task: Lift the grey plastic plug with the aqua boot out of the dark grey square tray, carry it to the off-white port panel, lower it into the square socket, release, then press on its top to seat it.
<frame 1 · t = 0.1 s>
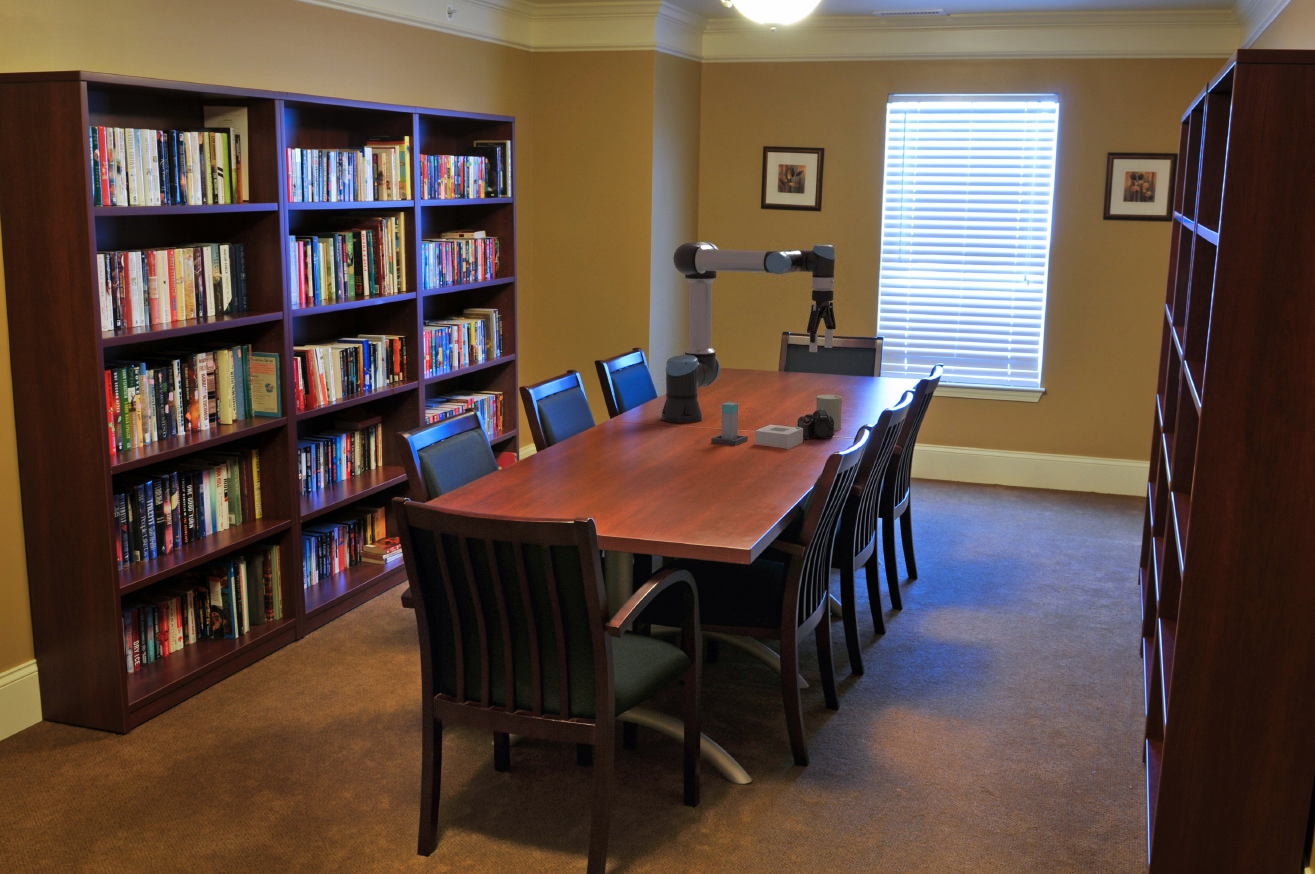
hand: (820, 349, 391), 28 cm above the table, fingers open, 13 cm apart
camera: (817, 438, 379), on the table
can: (828, 428, 395), on the table
port panel: (778, 444, 369), on the table
plug: (729, 441, 371), resting on dark grey square tray
dark grey square tray: (729, 442, 371), on the table
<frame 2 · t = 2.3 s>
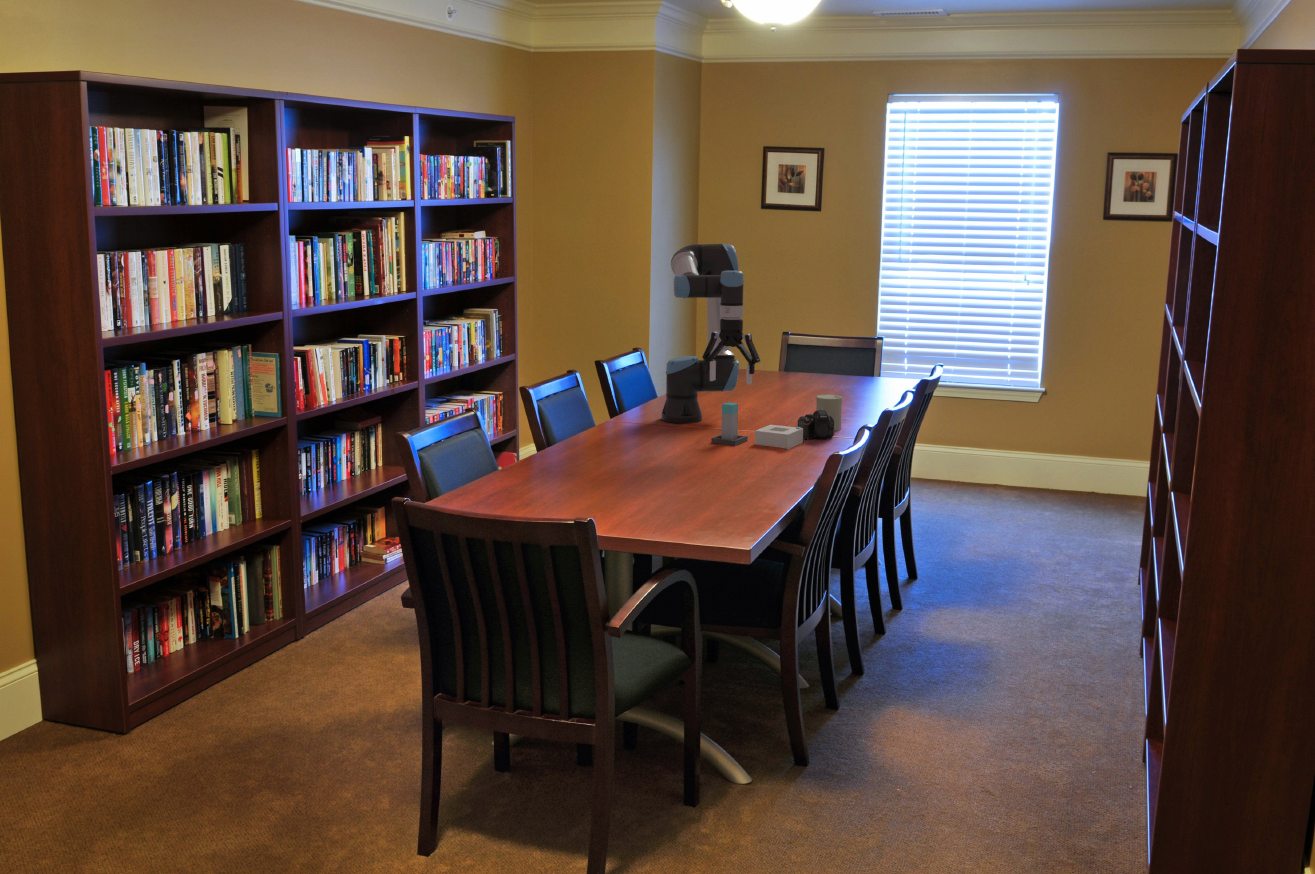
hand: (730, 382, 367), 21 cm above the table, fingers open, 13 cm apart
nothing on the table moved.
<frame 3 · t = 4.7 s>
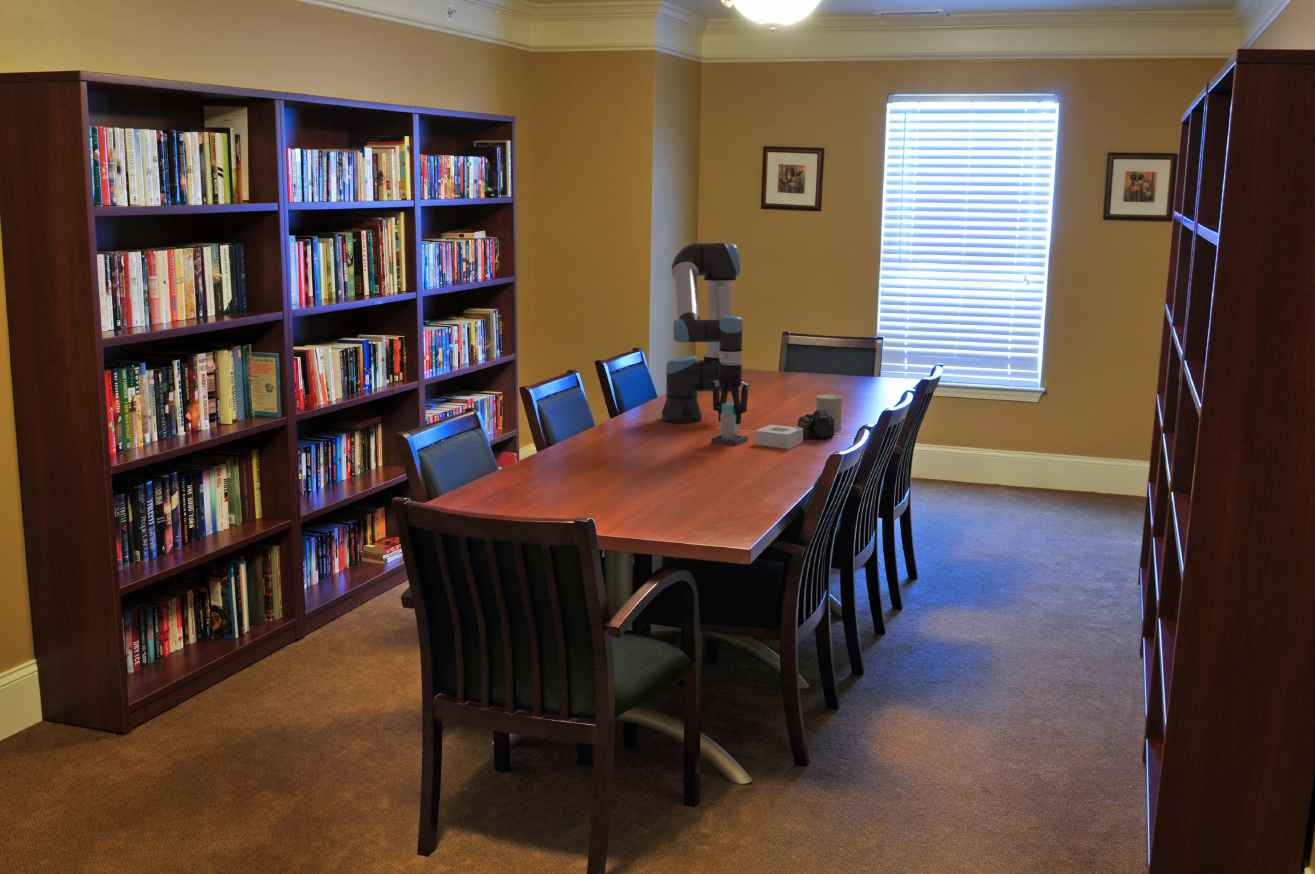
hand: (729, 432, 370), 4 cm above the table, fingers closed on plug, 4 cm apart
plug: (729, 441, 371), resting on dark grey square tray, touching gripper
everything else where it was.
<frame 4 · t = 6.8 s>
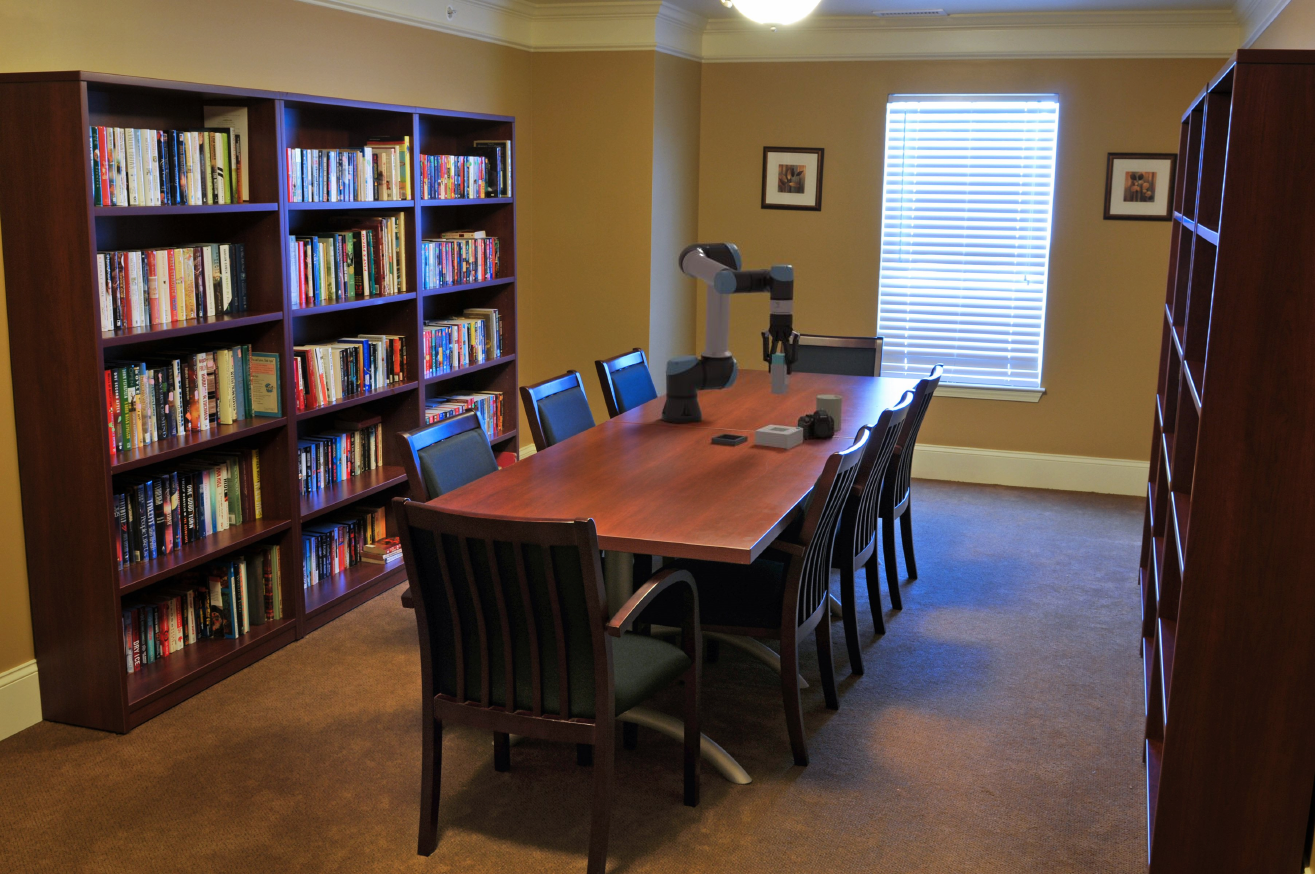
hand: (779, 383, 365), 21 cm above the table, fingers closed on plug, 4 cm apart
plug: (779, 393, 366), point 17 cm above the table, touching gripper
everything else where it was.
when the fingers open (5 cm above the table, at t = 8.9 s): plug drops 1 cm, resting on port panel.
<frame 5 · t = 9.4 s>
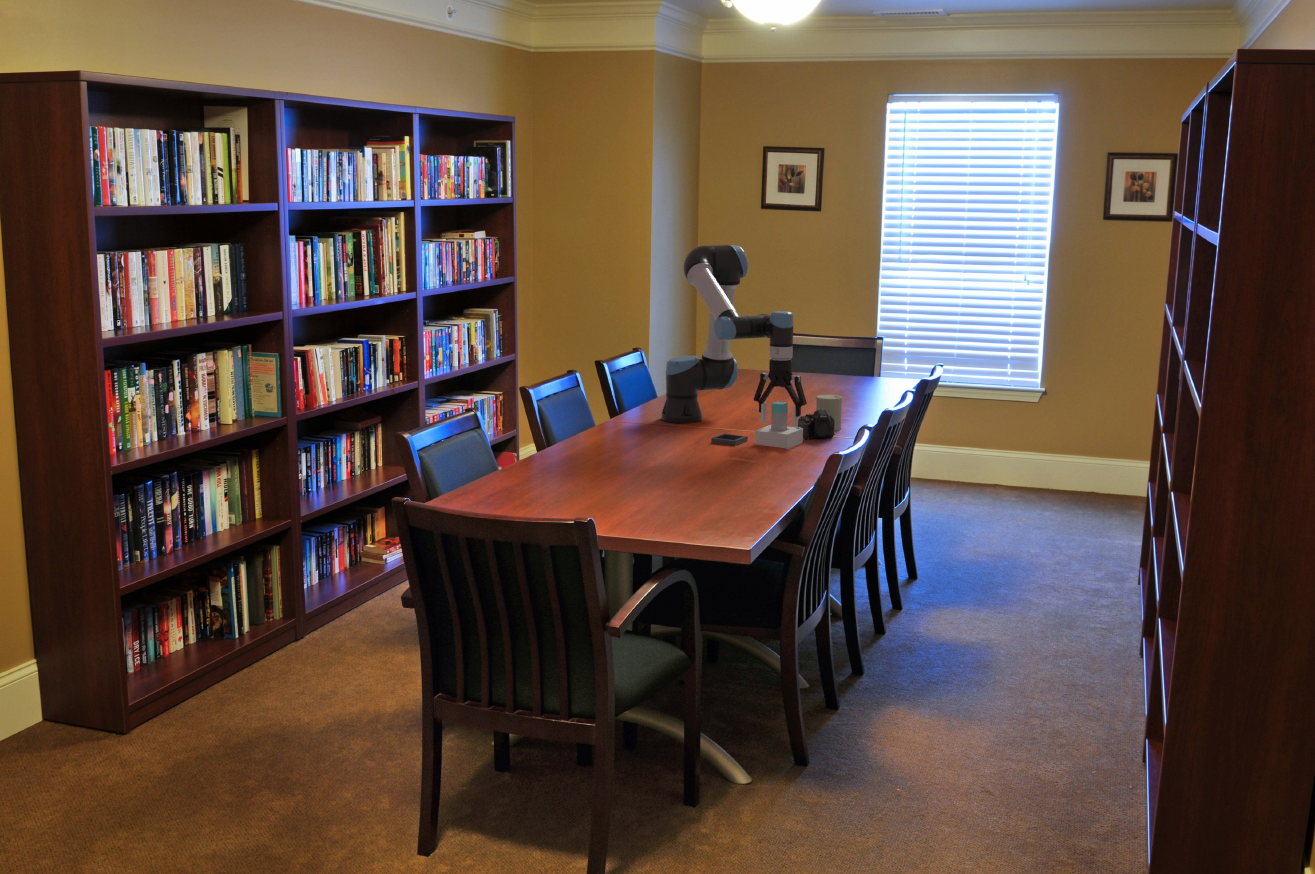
hand: (779, 424, 368), 7 cm above the table, fingers open, 11 cm apart
plug: (778, 441, 369), point 1 cm above the table, touching port panel
everything else where it was.
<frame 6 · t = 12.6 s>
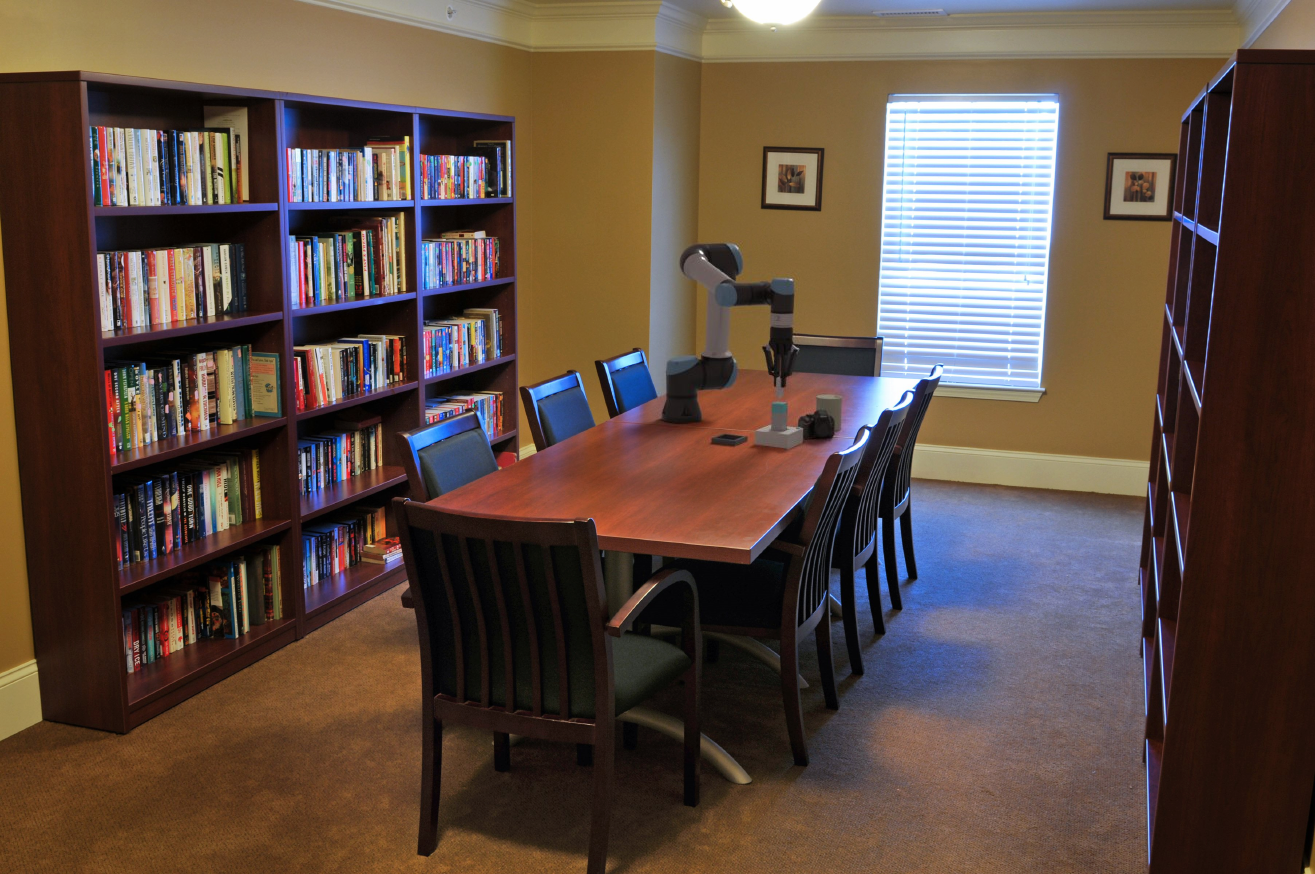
hand: (779, 396, 366), 16 cm above the table, fingers closed
nothing on the table moved.
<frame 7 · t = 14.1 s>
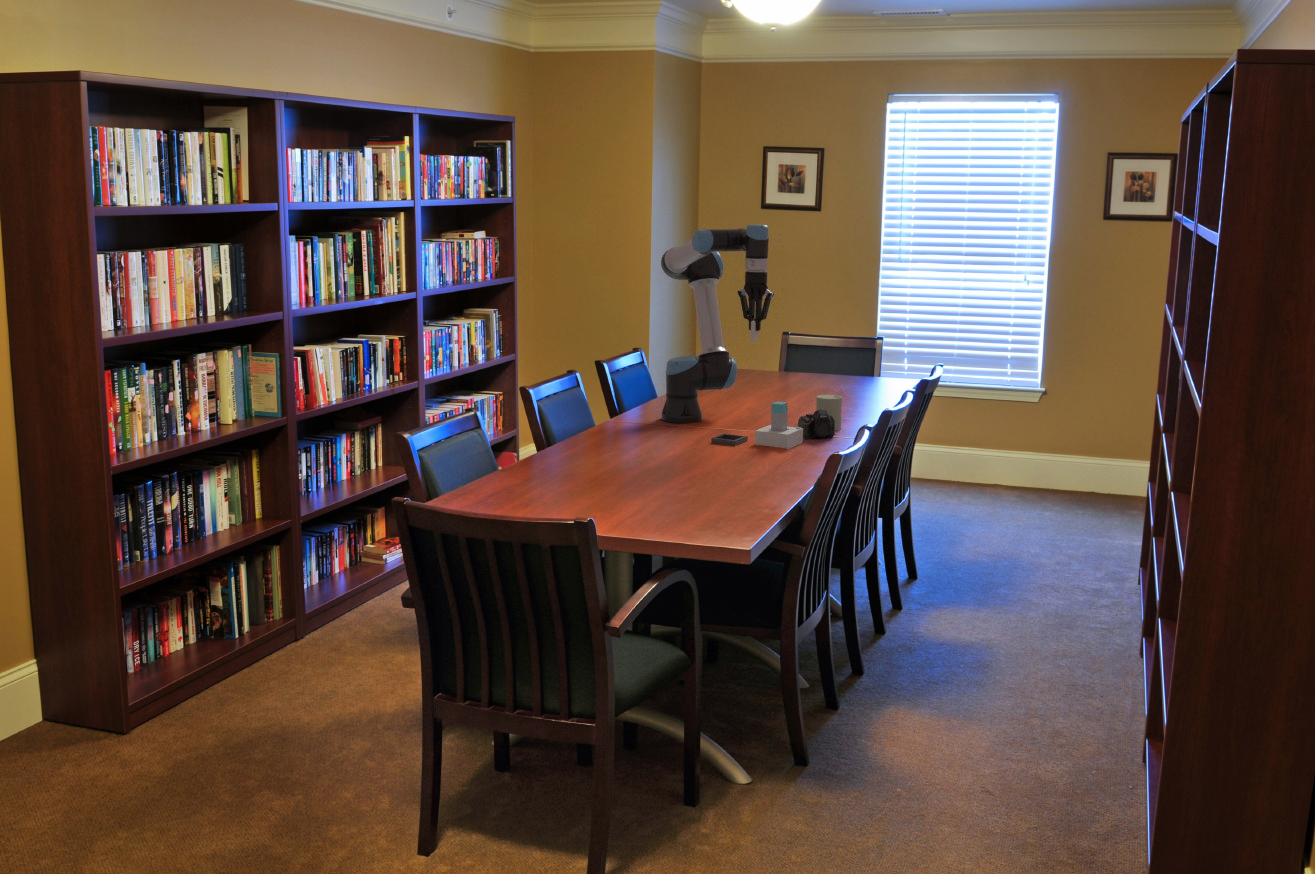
hand: (754, 339, 379), 33 cm above the table, fingers closed
nothing on the table moved.
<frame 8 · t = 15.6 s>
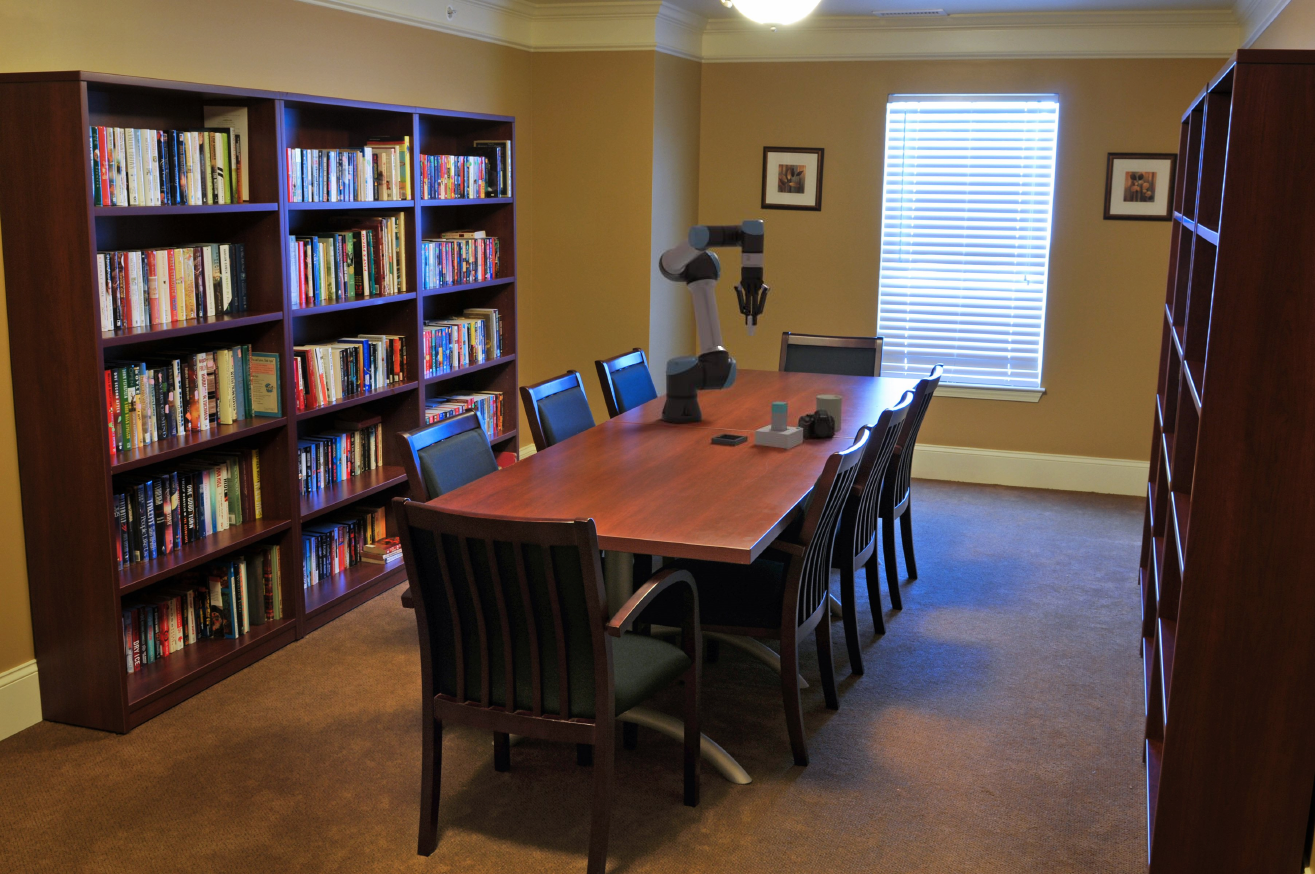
hand: (751, 334, 381), 34 cm above the table, fingers closed
nothing on the table moved.
at the end: plug 0.1 cm off-centre on the port panel, point 1.0 cm above the port panel's base; plug tilted 0°; the gripper is holding nothing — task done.
